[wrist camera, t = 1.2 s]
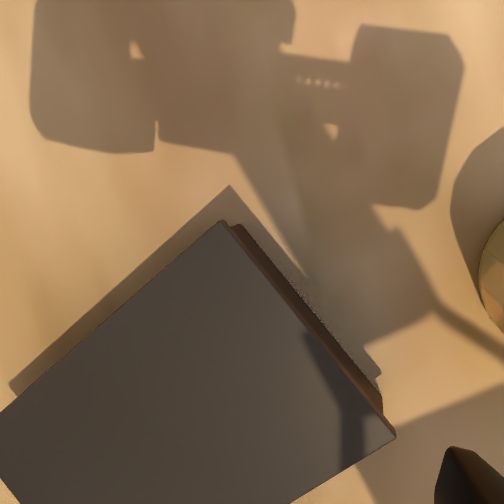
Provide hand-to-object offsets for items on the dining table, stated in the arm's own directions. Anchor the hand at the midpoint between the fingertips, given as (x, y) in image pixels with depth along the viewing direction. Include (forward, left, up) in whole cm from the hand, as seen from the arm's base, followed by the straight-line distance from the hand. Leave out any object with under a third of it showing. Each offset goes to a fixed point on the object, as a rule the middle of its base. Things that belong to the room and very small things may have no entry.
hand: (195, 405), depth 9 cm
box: (-2, +9, -13) cm, 16 cm away
